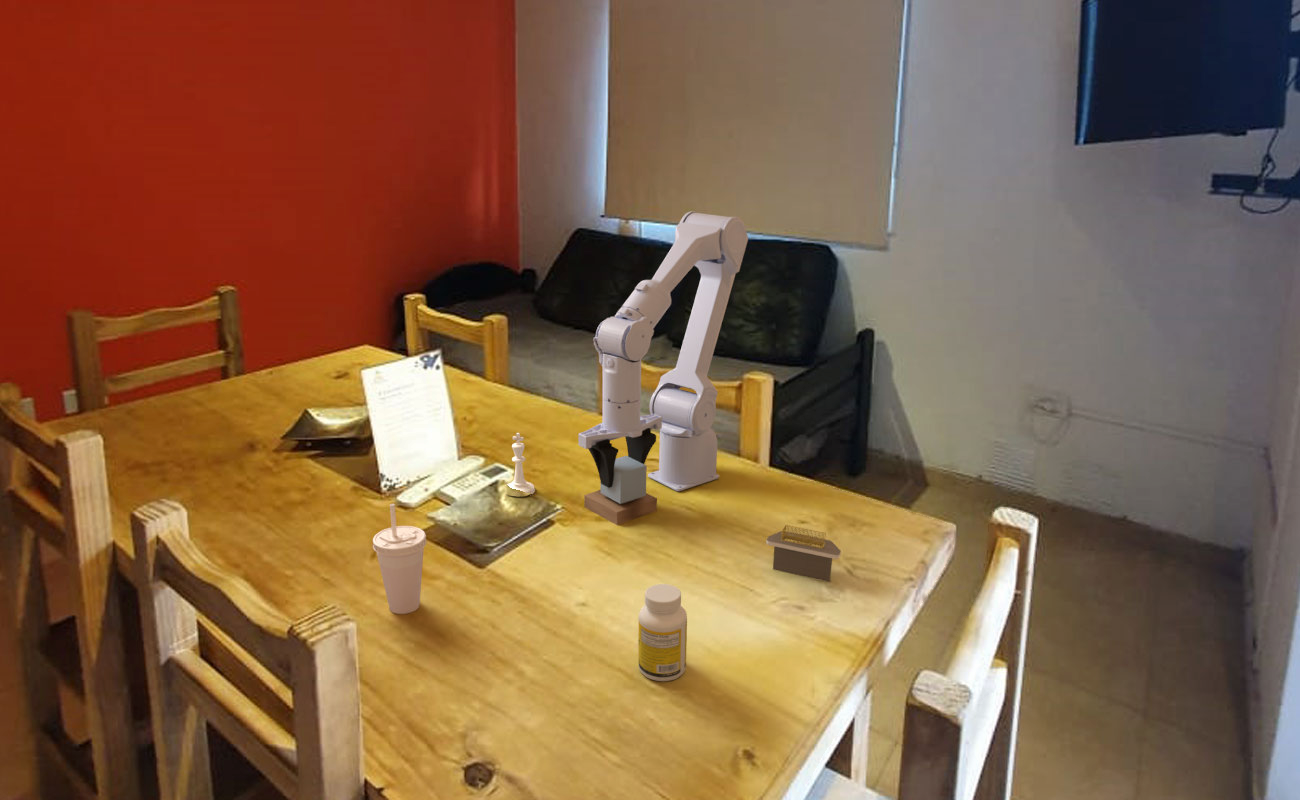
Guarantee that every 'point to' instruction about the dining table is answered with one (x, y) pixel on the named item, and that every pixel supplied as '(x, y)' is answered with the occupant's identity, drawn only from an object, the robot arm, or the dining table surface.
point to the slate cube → (627, 480)
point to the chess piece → (520, 467)
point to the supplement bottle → (662, 634)
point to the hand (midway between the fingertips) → (620, 480)
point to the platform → (803, 553)
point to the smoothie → (401, 564)
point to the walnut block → (619, 507)
